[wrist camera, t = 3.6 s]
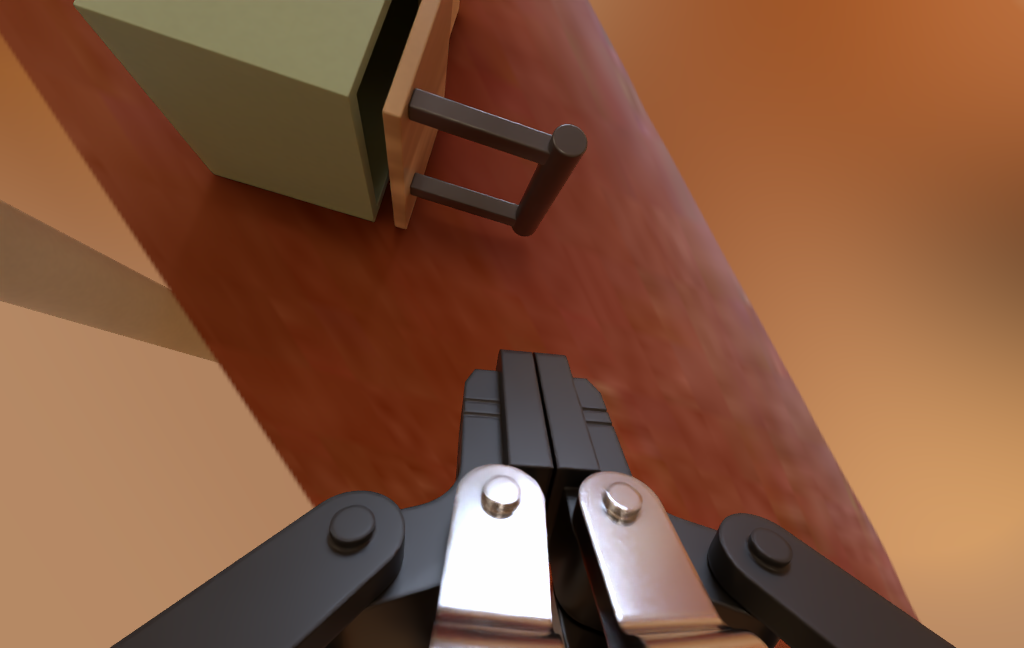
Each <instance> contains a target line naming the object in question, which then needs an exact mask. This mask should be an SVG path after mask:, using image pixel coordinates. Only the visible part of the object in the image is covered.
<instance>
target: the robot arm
mask: <svg viewBox="0 0 1024 648" xmlns="http://www.w3.org/2000/svg"><path fill="white" fill-rule="evenodd" d="M606 410H607V409H606V406H605V404H604V401H603V399H602V396H601V393H600V392H599V391H598V390H597V389H596V388H595V387H594V386H593V385H592V384H591V383H590V382H589V381H588V380H587V379H583V378H573V377H572V374H571V371H570V367H569V364H568V361H567V358H566V356H565V355H556V354H545V353H535V352H534V353H533V354H532V352H523V351H512V350H501V349H500V351H499V354H498V360H497V366H496V371H491V370H479V369H475V370H474V372H473V373H472V374H471V375H470V377H469V378H468V379H467V380H466V382H465V388H464V396H463V405H462V413H461V422H460V431H459V442H458V457H457V472H456V482H455V483H454V485H453V486H452V487H451V488H450V489H449V491H447V492H446V493H445V494H444V495H442V496H441V497H439V498H437V499H436V500H433V501H431V502H429V503H425V504H422V505H418V506H414V507H410V508H405V509H401V510H400V508H399V507H398V506H397V504H395V503H394V502H393V501H392V500H391V499H389V498H388V497H386V496H384V495H382V494H379V493H375V492H371V491H351V492H346V493H342V494H339V495H336V496H334V497H331V498H329V499H327V500H326V501H324V502H322V503H321V504H319V505H318V506H316V507H315V508H313V509H312V510H310V511H309V512H308V513H306V514H305V515H303V516H302V517H300V518H299V519H297V520H296V521H294V522H293V523H292V524H290V525H289V526H287V527H286V528H284V529H283V530H281V531H280V532H278V533H277V534H276V535H274V536H272V537H271V538H270V539H268V540H267V541H265V542H264V543H262V544H261V545H259V546H258V547H256V548H255V549H253V550H252V551H251V552H249V553H248V554H246V555H245V556H243V557H242V558H240V559H239V560H237V561H236V562H234V563H233V564H232V565H230V566H229V567H227V568H226V569H224V570H223V571H221V572H220V573H218V574H217V575H216V576H214V577H213V578H211V579H210V580H208V581H207V582H205V583H204V584H202V585H201V586H199V587H198V588H196V589H195V590H194V591H192V592H191V593H189V594H188V595H186V596H185V597H183V598H182V599H181V600H179V601H178V602H176V603H175V604H173V605H172V606H170V607H169V608H167V609H166V610H164V611H163V612H162V613H160V614H159V615H157V616H156V617H154V618H153V619H151V620H150V621H148V622H147V623H145V624H144V625H142V626H141V627H140V628H138V629H137V630H135V631H134V632H132V633H131V634H129V635H128V636H126V637H125V638H123V639H122V640H121V641H119V642H118V643H116V644H115V645H113V646H112V647H111V648H774V647H775V645H776V644H777V642H778V641H779V640H780V639H782V640H783V641H784V642H785V643H786V644H788V645H789V646H790V647H791V648H956V647H954V646H953V645H951V644H950V643H949V642H947V641H946V640H944V639H943V638H941V637H940V636H938V635H937V634H935V633H934V632H933V631H931V630H929V629H928V628H927V627H925V626H924V625H922V624H921V623H920V622H918V621H917V620H915V619H914V618H912V617H911V616H909V615H908V614H906V613H905V612H904V611H902V610H901V609H899V608H898V607H896V606H895V605H893V604H892V603H891V602H889V601H888V600H886V599H885V598H883V597H882V596H880V595H879V594H878V593H876V592H875V591H873V590H872V589H870V588H869V587H867V586H866V585H864V584H863V583H862V582H860V581H859V580H857V579H856V578H854V577H853V576H851V575H850V574H849V573H847V572H846V571H844V570H843V569H841V568H840V567H838V566H837V565H835V564H834V563H833V562H831V561H830V560H828V559H827V558H825V557H824V556H822V555H821V554H820V553H818V552H817V551H815V550H814V549H812V548H811V547H809V546H808V545H806V544H805V543H804V542H802V541H801V540H799V539H798V538H796V537H795V536H793V535H792V534H791V533H789V532H788V531H786V530H785V529H783V528H782V527H780V526H778V525H777V524H775V523H773V522H771V521H769V520H767V519H764V518H762V517H759V516H756V515H752V514H745V513H738V514H733V515H730V516H728V517H726V518H725V519H724V520H723V521H722V523H721V525H720V527H719V529H718V530H714V529H711V528H708V527H705V526H702V525H699V524H696V523H693V522H690V521H687V520H684V519H681V518H678V517H676V516H673V515H671V514H669V513H667V512H666V511H665V509H664V507H663V505H662V503H661V502H660V500H659V498H658V497H657V496H656V494H655V493H654V492H653V491H652V490H651V489H650V488H649V487H648V486H646V485H645V484H644V483H642V482H641V481H639V480H638V479H636V478H634V477H632V475H631V472H630V469H629V467H628V464H627V461H626V459H625V456H624V454H623V451H622V448H621V446H620V443H619V440H618V438H617V435H616V433H615V430H614V427H613V426H612V422H611V420H610V417H609V414H608V413H607V412H606ZM548 562H550V564H551V571H552V578H553V581H552V584H551V588H550V580H549V563H548Z"/></svg>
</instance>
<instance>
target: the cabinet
mask: <svg viewBox="0 0 1024 648" xmlns="http://www.w3.org/2000/svg"><path fill="white" fill-rule="evenodd" d="M420 3H421V0H75V1H74V3H73V5H74V6H75V8H76V9H77V10H78V11H79V13H80V14H81V15H82V16H83V18H84V19H85V20H86V21H87V22H88V24H89V25H90V26H91V27H92V28H93V30H94V31H95V32H96V33H97V34H98V36H99V37H100V38H101V39H102V40H103V42H104V43H105V44H106V45H107V47H108V48H109V49H110V50H111V51H112V53H113V54H114V55H115V56H116V57H117V59H118V60H119V61H120V62H121V63H122V65H123V66H124V67H125V68H126V69H127V71H128V72H129V73H130V74H131V75H132V77H133V78H134V79H135V80H136V82H137V83H138V84H139V85H140V86H141V88H142V89H143V90H144V91H145V92H146V94H147V95H148V96H149V97H150V98H151V100H152V101H153V102H154V103H155V104H156V106H157V107H158V108H159V109H160V110H161V112H162V113H163V114H164V115H165V117H166V118H167V119H168V120H169V121H170V123H171V124H172V125H173V126H174V127H175V129H176V130H177V131H178V132H179V133H180V135H181V136H182V137H183V138H184V139H185V141H186V142H187V143H188V144H189V145H190V147H191V148H192V149H193V150H194V152H195V153H196V154H197V155H198V156H199V158H200V159H201V160H202V161H203V162H204V164H205V165H206V166H207V167H208V168H209V170H210V171H211V172H212V173H213V174H215V175H218V176H222V177H225V178H228V179H232V180H235V181H239V182H242V183H245V184H249V185H252V186H255V187H259V188H262V189H265V190H269V191H272V192H275V193H279V194H282V195H285V196H289V197H292V198H295V199H299V200H302V201H305V202H309V203H312V204H315V205H319V206H322V207H325V208H329V209H332V210H335V211H339V212H342V213H346V214H349V215H352V216H356V217H359V218H362V219H366V220H369V221H372V222H375V219H376V216H377V214H378V211H379V208H380V205H381V202H382V199H383V196H384V193H385V190H386V187H387V184H388V181H389V169H388V160H387V150H386V141H385V132H384V123H383V114H382V110H383V107H384V104H385V101H386V99H387V96H388V93H389V90H390V87H391V85H392V82H393V79H394V76H395V73H396V71H397V68H398V65H399V62H400V59H401V57H402V54H403V51H404V48H405V45H406V42H407V40H408V37H409V34H410V31H411V28H412V26H413V23H414V20H415V17H416V14H417V12H418V9H419V6H420ZM459 4H460V0H453V4H452V15H451V26H450V34H451V31H452V28H453V25H454V22H455V19H456V16H457V13H458V10H459Z"/></svg>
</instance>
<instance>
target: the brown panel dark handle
mask: <svg viewBox="0 0 1024 648" xmlns="http://www.w3.org/2000/svg"><path fill="white" fill-rule="evenodd" d="M452 4H453V0H421V3H420V6H419V9H418V12H417V14H416V17H415V20H414V23H413V26H412V28H411V31H410V34H409V37H408V40H407V42H406V45H405V48H404V51H403V54H402V57H401V59H400V62H399V65H398V68H397V71H396V73H395V76H394V79H393V82H392V85H391V87H390V90H389V93H388V96H387V99H386V101H385V104H384V107H383V110H382V114H383V123H384V132H385V141H386V150H387V160H388V169H389V178H390V187H391V196H392V205H393V214H394V223H395V226H396V227H399V228H402V229H407V227H408V223H409V220H410V217H411V214H412V211H413V208H414V205H415V201H416V198H417V197H420V198H423V199H426V200H429V201H433V202H436V203H439V204H442V205H445V206H449V207H452V208H455V209H458V210H462V211H465V212H468V213H471V214H474V215H478V216H481V217H484V218H487V219H490V220H494V221H497V222H500V223H503V224H506V225H510V226H512V228H513V230H514V231H515V233H517V234H518V235H520V236H530V235H531V234H533V233H534V232H535V230H536V228H537V227H538V225H539V224H540V222H541V221H542V219H543V217H544V216H545V214H546V213H547V211H548V209H549V208H550V206H551V205H552V203H553V202H554V200H555V198H556V197H557V195H558V194H559V192H560V190H561V189H562V187H563V186H564V184H565V183H566V181H567V179H568V178H569V176H570V175H571V173H572V171H573V170H574V168H575V167H576V165H577V164H578V162H579V160H580V159H581V157H582V156H583V154H584V152H585V151H586V149H587V138H586V135H585V134H584V132H583V131H582V130H581V129H580V128H578V127H577V126H574V125H571V124H564V125H561V126H559V127H558V128H556V129H555V131H554V133H553V135H550V134H547V133H545V132H542V131H539V130H536V129H533V128H530V127H527V126H524V125H522V124H519V123H516V122H513V121H510V120H507V119H504V118H501V117H498V116H496V115H493V114H490V113H487V112H484V111H481V110H478V109H475V108H472V107H470V106H467V105H464V104H461V103H458V102H455V101H452V100H449V99H446V98H444V95H445V84H446V72H447V61H448V49H449V38H450V26H451V15H452ZM438 130H441V131H444V132H447V133H450V134H453V135H456V136H459V137H462V138H465V139H468V140H471V141H474V142H477V143H480V144H483V145H486V146H489V147H492V148H495V149H498V150H501V151H504V152H507V153H510V154H513V155H516V156H519V157H521V158H524V159H527V160H530V161H533V162H536V163H539V164H538V166H537V168H536V170H535V172H534V174H533V176H532V178H531V180H530V183H529V185H528V187H527V189H526V191H525V193H524V195H523V197H522V199H521V201H520V203H519V205H516V204H513V203H510V202H507V201H504V200H501V199H497V198H494V197H491V196H488V195H485V194H482V193H479V192H476V191H472V190H469V189H466V188H463V187H460V186H457V185H454V184H450V183H447V182H444V181H441V180H438V179H435V178H432V177H429V176H425V175H424V173H425V170H426V167H427V163H428V160H429V157H430V154H431V151H432V148H433V144H434V141H435V138H436V135H437V132H438Z"/></svg>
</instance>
